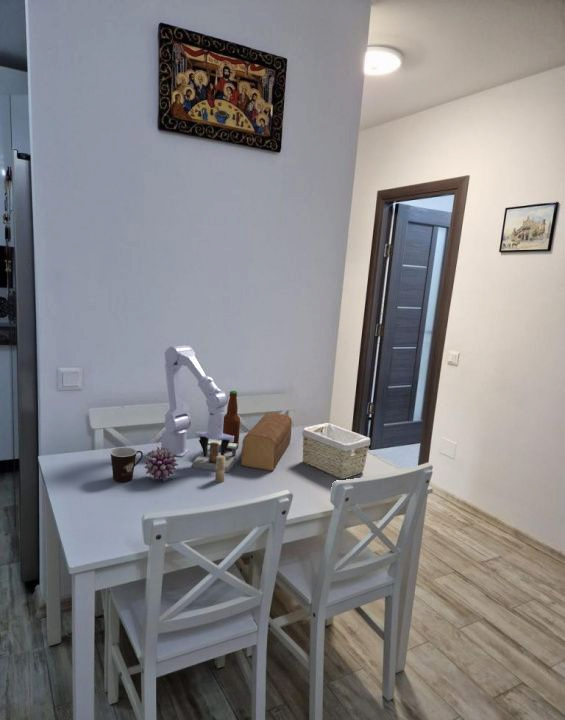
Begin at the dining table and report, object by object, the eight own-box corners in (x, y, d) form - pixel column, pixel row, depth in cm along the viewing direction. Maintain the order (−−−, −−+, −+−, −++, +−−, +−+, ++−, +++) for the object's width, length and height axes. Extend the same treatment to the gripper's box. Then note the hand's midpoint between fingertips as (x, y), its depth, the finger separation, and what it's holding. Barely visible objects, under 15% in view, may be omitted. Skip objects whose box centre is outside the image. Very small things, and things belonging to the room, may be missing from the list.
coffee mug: (111, 485, 163) (112, 457, 161) (108, 475, 171) (108, 448, 169) (146, 481, 169) (147, 454, 167) (141, 471, 176) (142, 445, 174)
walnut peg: (207, 466, 185) (209, 444, 184) (210, 463, 188) (211, 441, 187) (215, 468, 185) (217, 445, 183) (218, 465, 188) (219, 443, 186)
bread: (290, 444, 219) (293, 414, 216) (274, 472, 186) (277, 437, 183) (261, 439, 221) (263, 409, 219) (239, 466, 188) (241, 432, 186)
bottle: (237, 445, 211) (241, 389, 207) (238, 451, 204) (242, 394, 200) (221, 444, 210) (224, 388, 206) (221, 450, 203) (225, 393, 199)
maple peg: (214, 481, 173) (215, 458, 171) (216, 478, 176) (218, 454, 174) (222, 483, 172) (224, 459, 171) (225, 479, 176) (226, 456, 174)
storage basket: (297, 461, 199) (301, 427, 196) (324, 453, 210) (327, 421, 207) (342, 482, 182) (346, 445, 179) (368, 473, 193) (372, 438, 190)
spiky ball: (175, 487, 166) (176, 454, 164) (139, 485, 165) (140, 452, 163) (179, 473, 177) (181, 442, 175) (146, 471, 176) (147, 441, 174)
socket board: (192, 467, 184) (193, 450, 183) (203, 455, 196) (204, 439, 195) (228, 472, 182) (229, 455, 181) (236, 459, 195) (237, 443, 193)
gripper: (194, 423, 181) (192, 458, 183) (231, 428, 179) (229, 463, 181) (200, 418, 188) (198, 451, 190) (236, 423, 186) (234, 456, 188)
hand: (213, 457), depth 186 cm, fingers open, 6 cm apart
